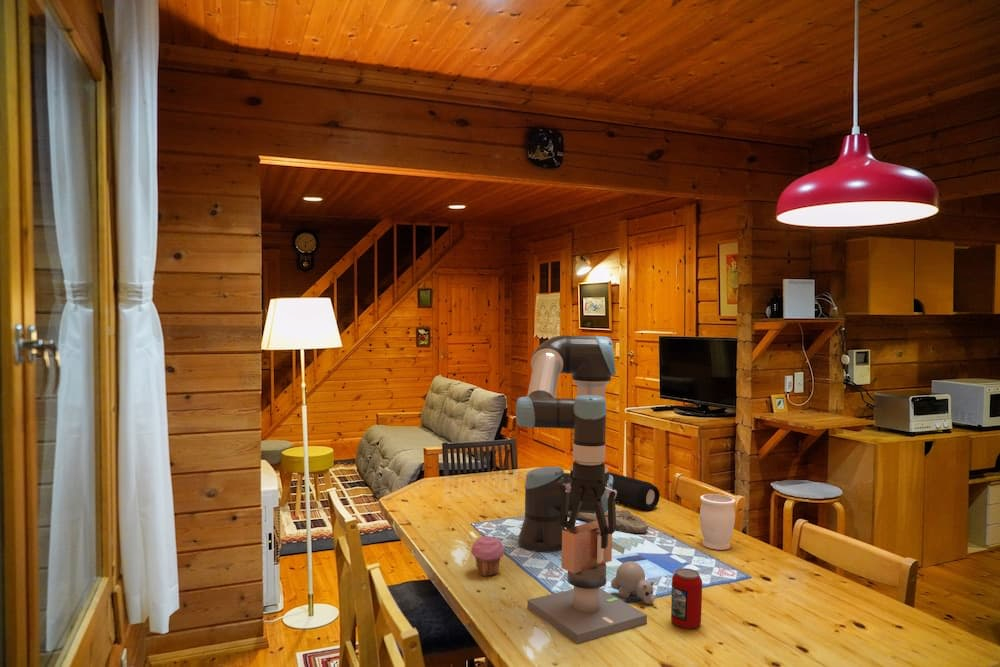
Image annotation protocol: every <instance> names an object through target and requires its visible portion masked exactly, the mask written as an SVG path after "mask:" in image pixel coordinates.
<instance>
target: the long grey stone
mask: <svg viewBox="0 0 1000 667" xmlns="http://www.w3.org/2000/svg"><path fill="white" fill-rule="evenodd" d="M604 514H605V518H606V522H608V511H607V512H606V513H604ZM570 515H571V512H568V517H570ZM577 520H578V521H583V522H586V523H589V522H592V521H596V520H597V517H596V513H594V514H592V513H579V514H578V517H577ZM648 529H649V525H647V523H646V521H644V520H643V519H641V518H640V517H639V516H637V515H634V514H632V513H631V512H630V510H628V509H623V510H616V531H619V530H621V531H620V532H623V531H626V532H628V533H636V534H643V533H646V532H647V531H648Z"/></svg>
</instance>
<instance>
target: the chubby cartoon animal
mask: <svg viewBox="0 0 1000 667" xmlns="http://www.w3.org/2000/svg"><path fill="white" fill-rule="evenodd" d="M615 575H616V576H614V578H613V579H612V580H611V582H610V583H611V584H610V586H611V588H612V589H614V590H619V595H620V597H621V598H623V599H629V597H630V595H633V596H636V595H637V596H638V597H640V598H642V599H643V602H644V603H645V604H646V605H651V604H653V603H654V602H655V600H656V595H655V594H654V588H653V586H654V584H655V581H651V582H650V581H647V580H646V574H645V571H644V568H643V567H642V566H641V565H640V564H639V563H638V562H635V561H631V560H630V561H629V560H628V561H624V562H622V563H621V564H620V565H619V566H618V567H617V570H616V572H615Z"/></svg>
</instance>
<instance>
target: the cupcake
mask: <svg viewBox="0 0 1000 667" xmlns="http://www.w3.org/2000/svg"><path fill="white" fill-rule="evenodd" d="M504 554H505V548H504V544H503V542H502V541H501V540H499V539H498V538H496V537H494V536H485V535H484V536H481V537H477V539H476V540H475V541H474V543H473V545H472V547H471V555H472V556H473V557H474V559H475V561H476V568H477V570H478V573H479V574H480V575H481V576H483V577H488V576H493V575H497V574H498V573H499V571H500V569H499V568H500V562H501V558H502V557H503V556H504Z"/></svg>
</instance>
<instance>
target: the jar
mask: <svg viewBox="0 0 1000 667" xmlns="http://www.w3.org/2000/svg"><path fill="white" fill-rule="evenodd" d="M700 501H701V504H700V510H699V523H700V531H701V534H702V537H703V541H702V546H704V547H705V548H708V549H710V550H714V549H715V551H725V550H729V549H731V544H730V541H731V540H732V537H733V533H734V527H735V521H736V517H735V516H736V514H735V508H734V505H736V499H735V498H733V497H731V496H728V495H724V494H718V493H708V494H703V495H700Z"/></svg>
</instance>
